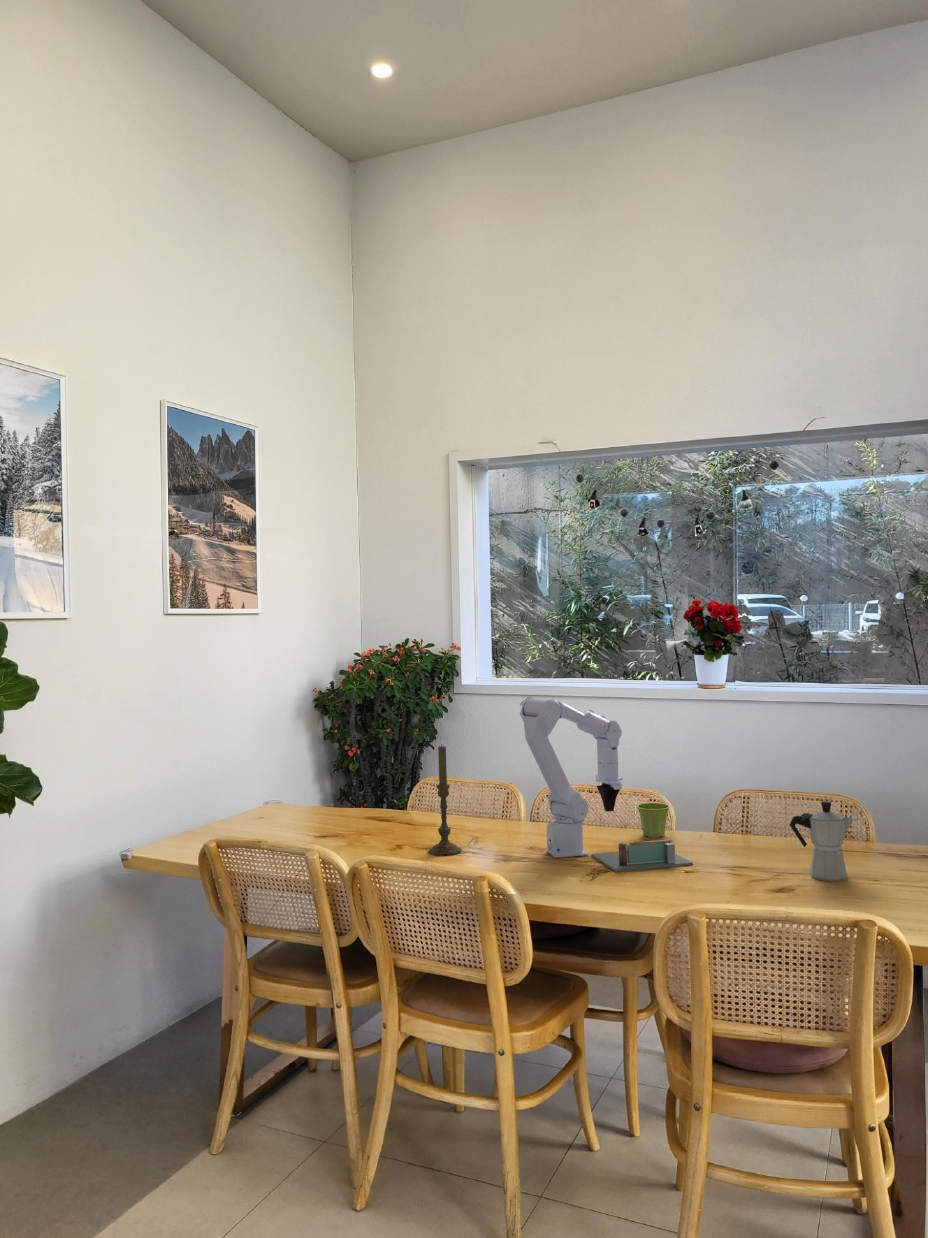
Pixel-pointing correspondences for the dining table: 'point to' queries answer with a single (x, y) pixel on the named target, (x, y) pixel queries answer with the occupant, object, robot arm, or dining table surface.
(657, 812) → the plant pot
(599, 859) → the slate mat
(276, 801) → the dining table surface
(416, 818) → the dining table surface
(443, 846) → the candlestick holder
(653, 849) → the gate
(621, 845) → the hinge post
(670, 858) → the dark grey rectangular block
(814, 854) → the coffee maker
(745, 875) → the dining table surface
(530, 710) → the robot arm
